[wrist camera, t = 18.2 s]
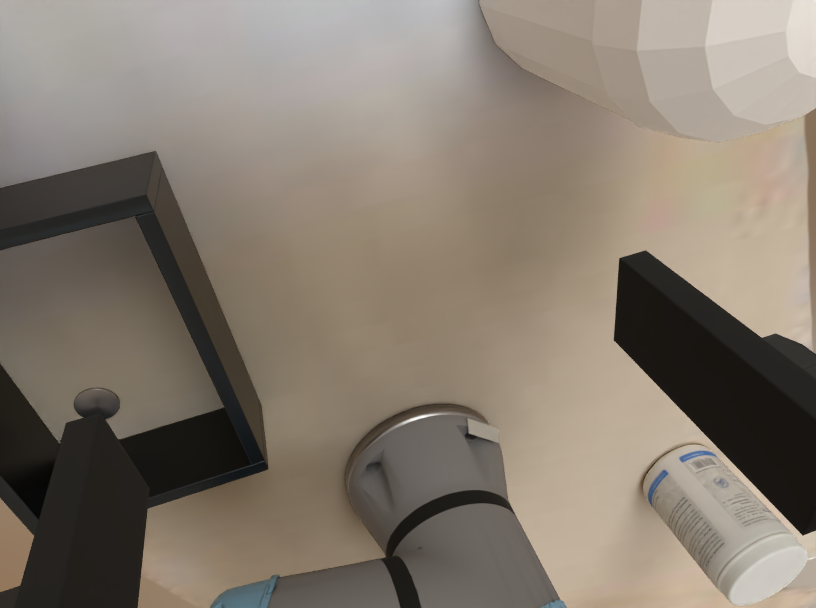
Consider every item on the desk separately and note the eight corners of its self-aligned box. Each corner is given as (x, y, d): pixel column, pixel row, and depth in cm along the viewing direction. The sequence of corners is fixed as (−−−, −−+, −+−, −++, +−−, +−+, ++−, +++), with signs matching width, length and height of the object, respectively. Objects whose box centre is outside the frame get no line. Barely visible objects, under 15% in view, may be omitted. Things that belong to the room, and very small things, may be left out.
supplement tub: (658, 506, 75) (743, 617, 63) (626, 480, 69) (712, 595, 58) (721, 459, 73) (821, 564, 61) (692, 428, 68) (796, 536, 56)
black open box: (261, 405, 48) (269, 469, 43) (60, 467, 46) (40, 543, 41) (155, 150, 36) (146, 194, 30) (-129, 218, 34) (-197, 279, 28)
